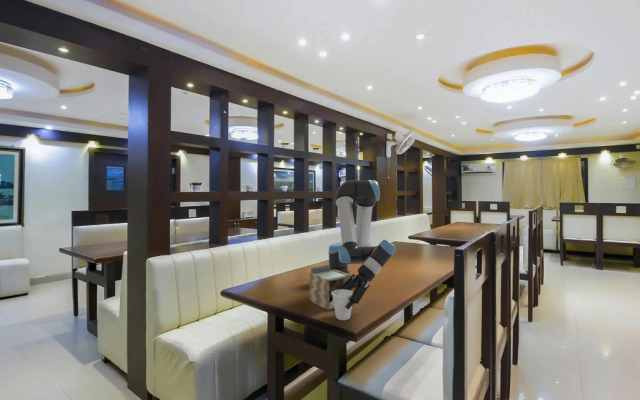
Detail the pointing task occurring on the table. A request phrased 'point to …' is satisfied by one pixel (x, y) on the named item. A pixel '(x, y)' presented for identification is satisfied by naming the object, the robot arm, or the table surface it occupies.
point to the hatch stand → (324, 289)
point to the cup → (341, 302)
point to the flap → (327, 273)
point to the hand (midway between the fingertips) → (336, 309)
